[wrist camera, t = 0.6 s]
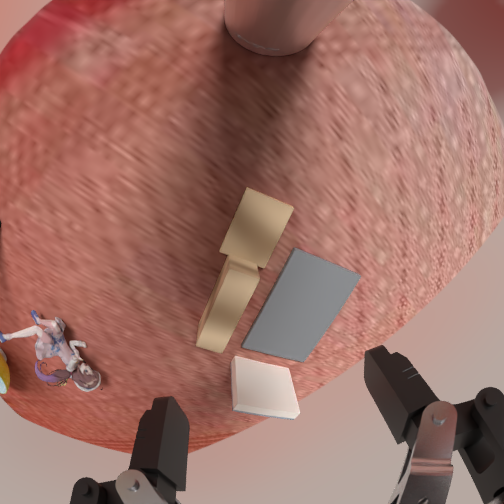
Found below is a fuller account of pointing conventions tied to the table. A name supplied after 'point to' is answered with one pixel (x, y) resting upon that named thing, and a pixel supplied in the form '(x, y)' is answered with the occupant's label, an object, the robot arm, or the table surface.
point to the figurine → (58, 353)
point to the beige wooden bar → (241, 265)
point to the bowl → (4, 373)
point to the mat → (300, 306)
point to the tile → (262, 389)
